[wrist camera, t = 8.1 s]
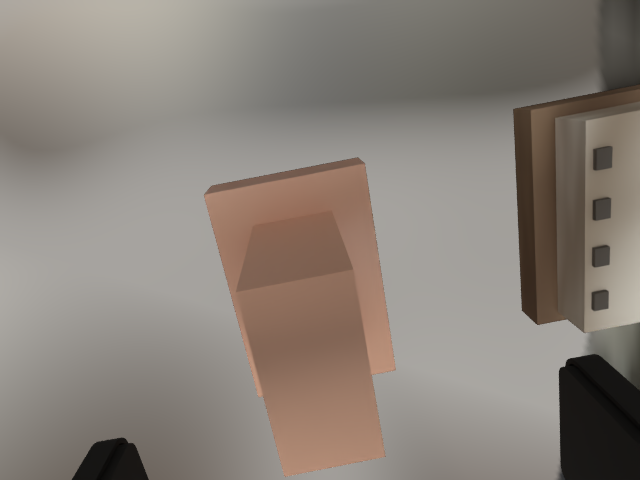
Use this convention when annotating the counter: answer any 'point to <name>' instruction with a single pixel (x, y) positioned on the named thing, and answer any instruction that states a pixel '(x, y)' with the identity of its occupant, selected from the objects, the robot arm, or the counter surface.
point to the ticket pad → (542, 196)
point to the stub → (309, 307)
